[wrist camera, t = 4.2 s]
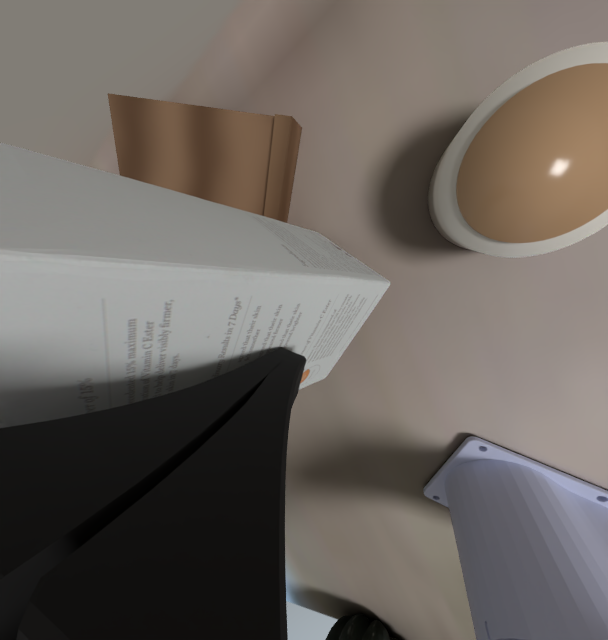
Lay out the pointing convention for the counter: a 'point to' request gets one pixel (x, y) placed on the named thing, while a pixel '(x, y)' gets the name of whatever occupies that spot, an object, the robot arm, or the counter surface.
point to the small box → (153, 290)
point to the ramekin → (530, 161)
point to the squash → (358, 629)
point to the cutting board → (208, 152)
